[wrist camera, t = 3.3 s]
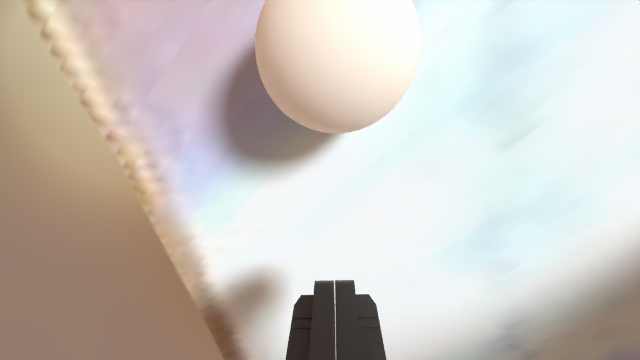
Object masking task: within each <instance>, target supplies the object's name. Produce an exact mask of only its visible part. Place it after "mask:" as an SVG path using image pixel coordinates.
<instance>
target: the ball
mask: <svg viewBox="0 0 640 360" xmlns="http://www.w3.org/2000/svg"><path fill="white" fill-rule="evenodd" d="M419 52H420V30H419V23H418V18H417V15H416V11H415V8H414V6H413V3H412V1H411V0H266V1H265V3H264V5H263V8H262V10H261V13H260V16H259V19H258V23H257V28H256V35H255V55H256V62H257V67H258V71H259V74H260V77H261V80H262V82H263V85H264V87H265V89H266V91H267V92H268V94H269V96H270V97H271V99H272V100H273V101H274V103H275V104H276V105H277V107H278V108H279V109H280V110H281V111H282V112H283V113H284V114H286V115H287V116H288V117H290V118H291V119H292V120H293V121H295V122H297V123H299V124H300V125H302V126H305V127H307V128H309V129H312V130H316V131H319V132H326V133H346V132H352V131H356V130H360V129H362V128H365V127H367V126H369V125H371V124H373V123H375V122H377V121H378V120H380V119H381V118H383V117H384V116H385V115H387V114H388V113H389V112H390V111H391V110H392V109H393V108H394V107H395V106H396V105H397V104H398V102H399V101H400V100H401V99H402V97H403V96H404V94H405V93H406V91H407V90H408V88H409V86H410V84H411V82H412V79H413V77H414V74H415V71H416V68H417V64H418V59H419Z"/></svg>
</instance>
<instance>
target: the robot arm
mask: <svg viewBox="0 0 640 360" xmlns="http://www.w3.org/2000/svg"><path fill="white" fill-rule="evenodd" d="M335 299H336V351H335V303H334V281H315V285H314V295H301V296H300V298H299V299H298V301H297V302H296V304H295V305H294V310H293V316H292V322H291V330H290V335H289V341H288V348H287V354H286V360H386V355H385V350H384V345H383V339H382V334H381V330H380V323H379V319H378V312H377V307H376V304H375V303H374V301H373V300H372V298H371V297H370V296H369V294H359V295H355V285H354V280H335Z"/></svg>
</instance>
